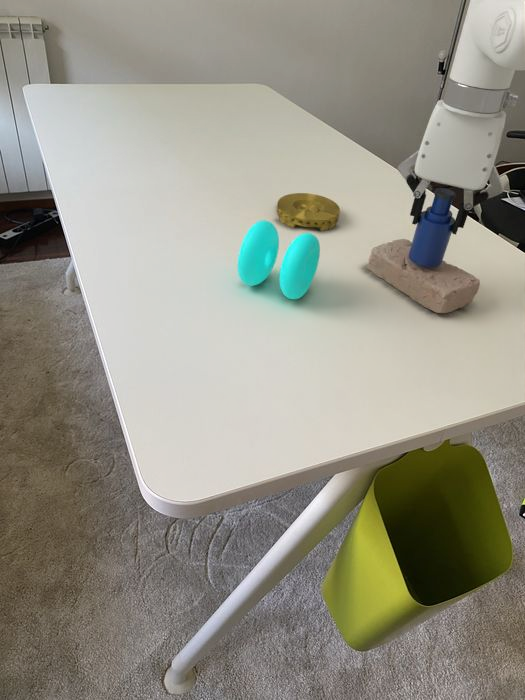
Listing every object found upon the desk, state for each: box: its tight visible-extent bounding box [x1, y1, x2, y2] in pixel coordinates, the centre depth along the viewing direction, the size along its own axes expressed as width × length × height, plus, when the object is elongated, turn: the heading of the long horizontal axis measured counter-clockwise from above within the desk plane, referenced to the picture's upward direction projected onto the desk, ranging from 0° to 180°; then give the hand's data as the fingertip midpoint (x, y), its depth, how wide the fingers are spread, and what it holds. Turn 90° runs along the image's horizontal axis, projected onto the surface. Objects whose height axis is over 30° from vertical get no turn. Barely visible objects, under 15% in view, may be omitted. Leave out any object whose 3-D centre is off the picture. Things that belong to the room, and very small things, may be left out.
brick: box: [366, 238, 481, 314], centre depth 88 cm, size 17×8×5 cm, turn 35°
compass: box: [276, 192, 341, 232], centre depth 106 cm, size 12×12×2 cm
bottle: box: [409, 187, 456, 267], centre depth 83 cm, size 5×5×11 cm
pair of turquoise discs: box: [237, 220, 321, 300], centre depth 82 cm, size 10×10×10 cm
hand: (435, 224), depth 83 cm, fingers closed on bottle, 5 cm apart
